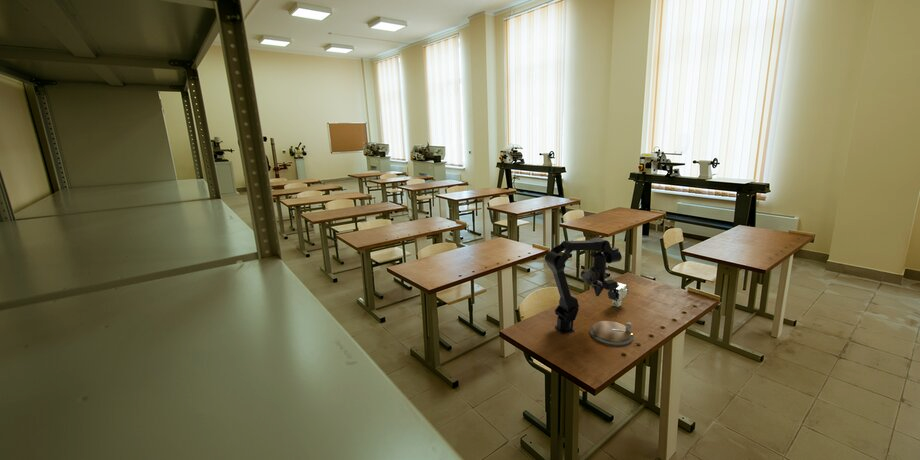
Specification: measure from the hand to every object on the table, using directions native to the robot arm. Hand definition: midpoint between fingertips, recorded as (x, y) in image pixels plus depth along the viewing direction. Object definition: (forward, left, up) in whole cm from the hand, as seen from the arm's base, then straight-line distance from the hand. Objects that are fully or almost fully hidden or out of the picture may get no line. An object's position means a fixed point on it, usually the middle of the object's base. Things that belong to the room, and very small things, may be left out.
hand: (597, 296), depth 182 cm
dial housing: (-1, -13, -13) cm, 18 cm away
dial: (-1, -13, -12) cm, 18 cm away
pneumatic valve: (+20, +10, -13) cm, 26 cm away
